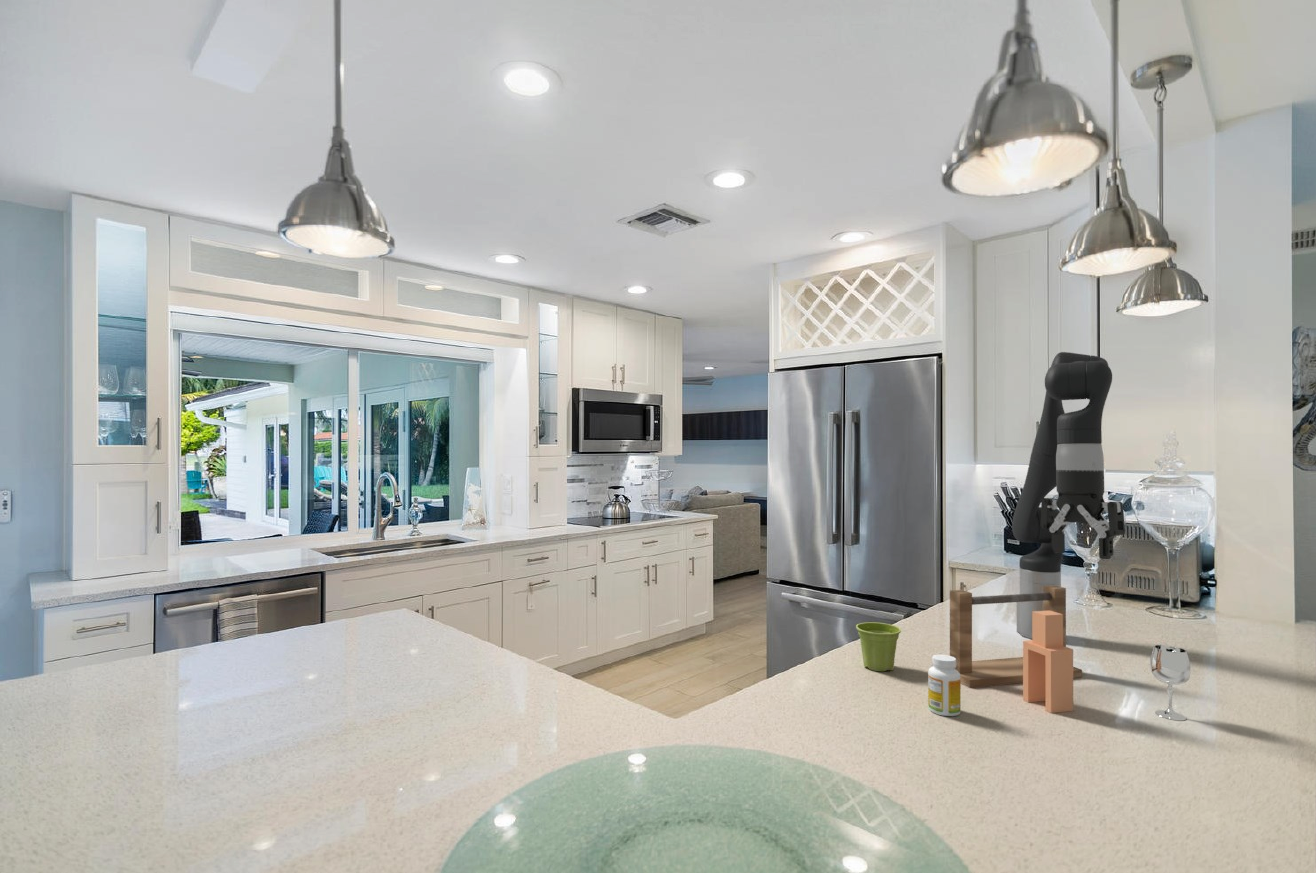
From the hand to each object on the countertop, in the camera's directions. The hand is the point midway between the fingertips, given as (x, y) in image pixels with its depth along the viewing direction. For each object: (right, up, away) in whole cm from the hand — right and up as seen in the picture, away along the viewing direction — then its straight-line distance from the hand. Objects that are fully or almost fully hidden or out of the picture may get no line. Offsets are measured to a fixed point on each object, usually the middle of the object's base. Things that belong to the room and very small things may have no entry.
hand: (1081, 555), depth 121 cm
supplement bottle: (-26, -28, -2) cm, 39 cm away
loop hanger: (-6, -28, +1) cm, 29 cm away
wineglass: (+14, -29, -3) cm, 32 cm away
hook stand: (-4, -29, +18) cm, 34 cm away
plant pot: (-31, -29, +21) cm, 47 cm away
